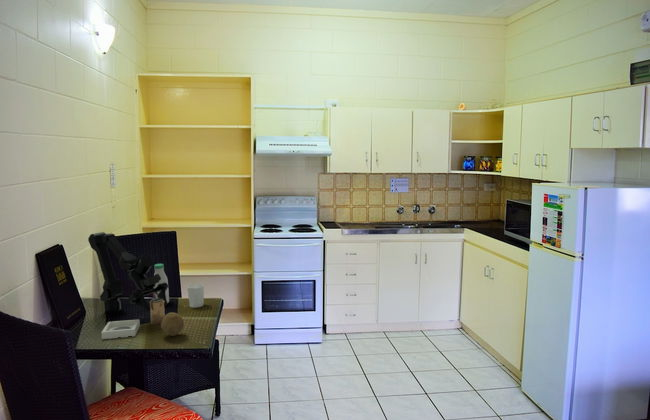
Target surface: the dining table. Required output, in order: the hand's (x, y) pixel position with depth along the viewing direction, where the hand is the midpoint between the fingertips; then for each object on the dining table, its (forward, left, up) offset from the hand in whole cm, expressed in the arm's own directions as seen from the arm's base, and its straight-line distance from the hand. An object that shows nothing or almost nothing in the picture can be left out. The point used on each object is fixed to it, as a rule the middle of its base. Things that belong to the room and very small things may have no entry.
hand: (158, 307), depth 225 cm
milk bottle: (-3, +32, -7) cm, 33 cm away
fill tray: (-15, -8, -7) cm, 18 cm away
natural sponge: (+7, -18, -7) cm, 21 cm away
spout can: (-1, +1, -7) cm, 7 cm away
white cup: (+15, +22, -7) cm, 28 cm away
